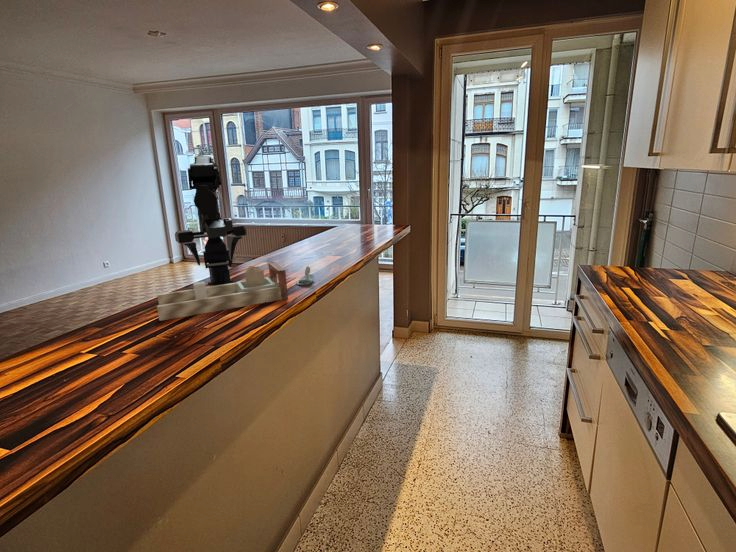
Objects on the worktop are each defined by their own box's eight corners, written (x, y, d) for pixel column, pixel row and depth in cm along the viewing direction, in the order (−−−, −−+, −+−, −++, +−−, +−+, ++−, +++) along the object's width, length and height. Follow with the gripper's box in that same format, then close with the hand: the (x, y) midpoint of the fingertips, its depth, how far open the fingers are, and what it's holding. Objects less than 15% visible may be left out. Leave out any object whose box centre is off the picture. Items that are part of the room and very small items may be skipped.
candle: (268, 294, 130) (265, 264, 127) (262, 300, 124) (259, 268, 122) (251, 294, 130) (248, 264, 128) (245, 300, 125) (241, 268, 122)
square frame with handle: (198, 311, 116) (194, 288, 114) (195, 302, 124) (192, 280, 122) (276, 298, 125) (274, 276, 123) (269, 290, 134) (267, 269, 132)
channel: (159, 321, 110) (153, 289, 108) (159, 307, 122) (154, 278, 119) (287, 298, 125) (285, 270, 123) (277, 288, 137) (274, 262, 134)
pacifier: (293, 286, 138) (310, 286, 138) (291, 269, 137) (308, 268, 136) (299, 281, 145) (315, 280, 145) (297, 264, 144) (314, 263, 143)
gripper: (178, 214, 104) (187, 272, 108) (249, 207, 115) (255, 262, 118) (170, 211, 113) (179, 265, 117) (237, 205, 123) (243, 256, 127)
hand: (215, 262), depth 120 cm, fingers open, 9 cm apart
